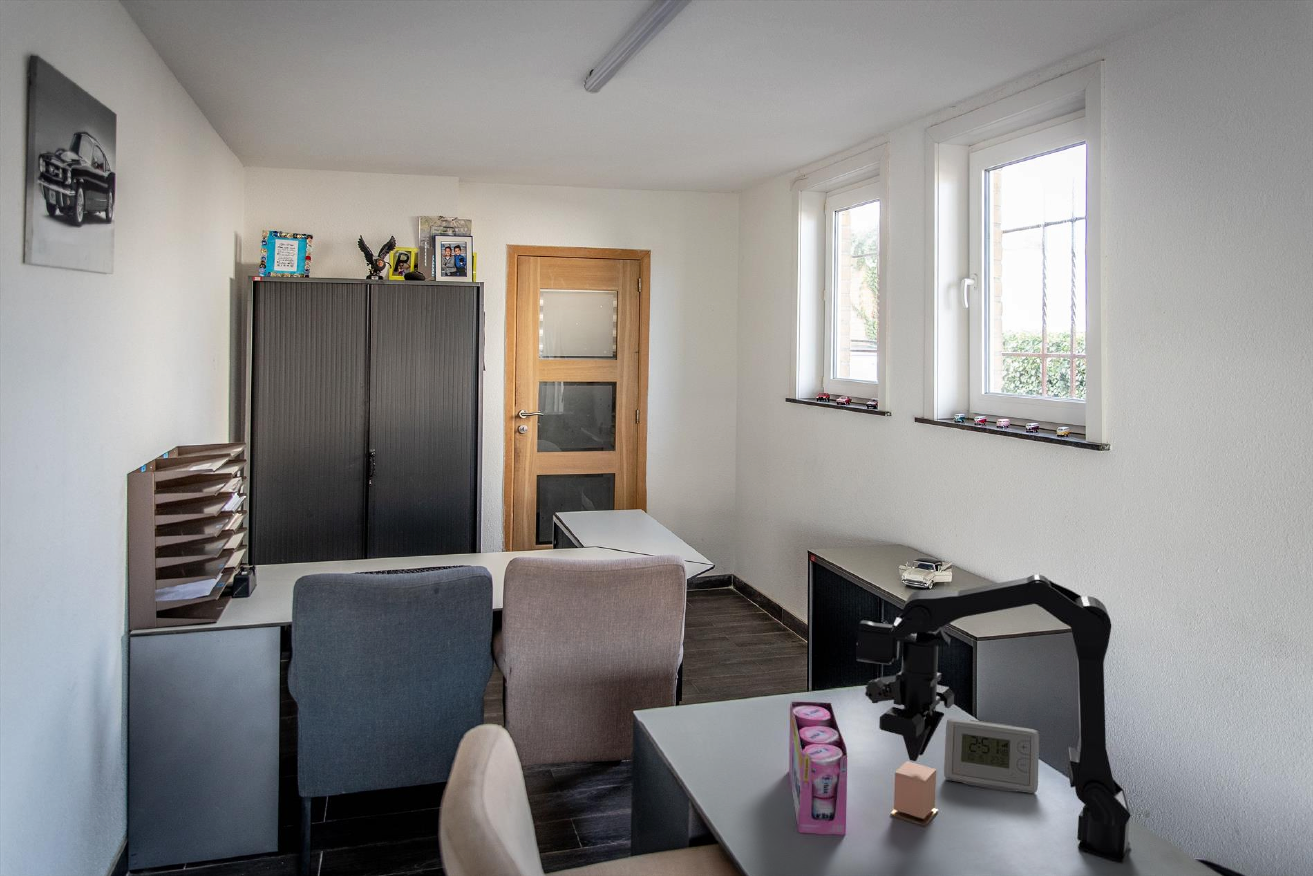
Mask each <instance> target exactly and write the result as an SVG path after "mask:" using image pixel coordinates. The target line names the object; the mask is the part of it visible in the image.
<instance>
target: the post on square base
mask: <svg viewBox="0 0 1313 876" xmlns="http://www.w3.org/2000/svg"><path fill="white" fill-rule="evenodd" d="M938 813H939V809H938V808H935V807H934V808H933V809H932V810H931V811H930V813H929V814H928V815H927V816H926V817H925V818H924V819H922V818H919V817H916V816H913V815H910V814H907V813H903V812H900V811H897V810H894V809H893V810H892V811H891V812H890V814H889V815H890V816H891V817H894V818H897V819H900V820H903V821H906V822H909V823H912V824H915V825H918V826H922V827H925V828H926V826H927V825H929V823H930V822H931V821H932V820H933V818H934V817H935V816H936V815H937V814H938Z"/></svg>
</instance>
